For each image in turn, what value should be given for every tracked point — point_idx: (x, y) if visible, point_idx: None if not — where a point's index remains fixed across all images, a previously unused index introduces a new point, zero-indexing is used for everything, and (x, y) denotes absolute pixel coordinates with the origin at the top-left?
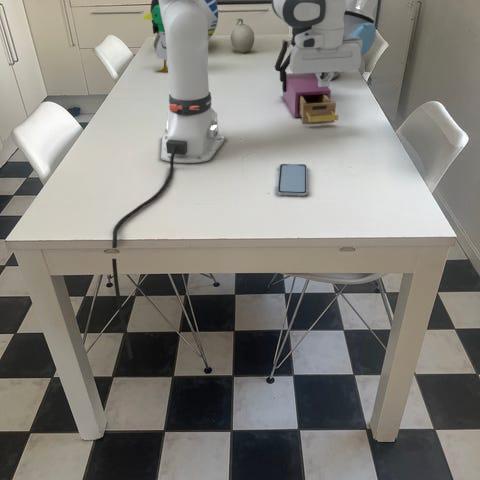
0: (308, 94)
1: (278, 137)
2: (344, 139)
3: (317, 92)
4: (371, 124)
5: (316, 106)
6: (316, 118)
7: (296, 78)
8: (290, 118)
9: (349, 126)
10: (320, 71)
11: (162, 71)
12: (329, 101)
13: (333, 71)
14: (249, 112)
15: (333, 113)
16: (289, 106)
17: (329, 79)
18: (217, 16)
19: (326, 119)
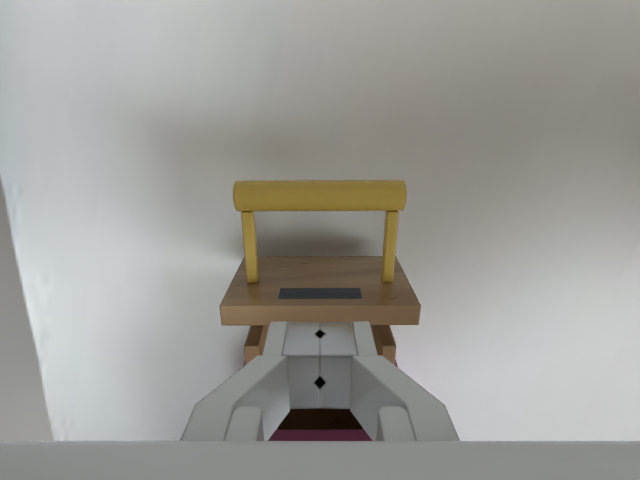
0: (345, 431)
1: (531, 167)
2: (230, 87)
3: (295, 439)
4: (76, 236)
5: (338, 298)
6: (365, 184)
7: None
8: (409, 346)
9: (180, 231)
10: (432, 448)
11: None
12: (249, 344)
13: (186, 441)
14: (544, 418)
15: (249, 244)
16: None
17: (262, 366)
18: None
19: (305, 181)
